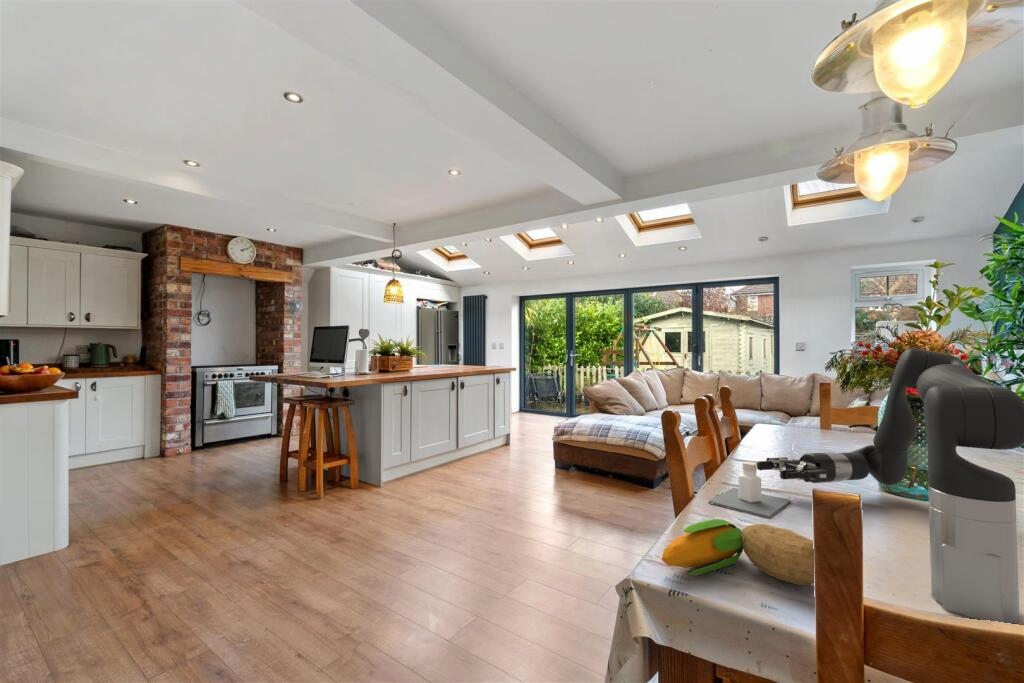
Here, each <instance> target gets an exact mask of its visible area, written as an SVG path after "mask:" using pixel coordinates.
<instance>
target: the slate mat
mask: <svg viewBox="0 0 1024 683" xmlns="http://www.w3.org/2000/svg"><path fill="white" fill-rule="evenodd" d="M761 496H762V499H761V501H759V502H753V503H750V502H747V501H745V500H742V499H740V498H739V487H738V488H737V487H732V488H730V489H728V490H727V491H725V492H723V493H721V494H719V495H717V496H715V497H713V498H711V499H709V500H708V504H709V503H713V504H717V505H722V506H725V507H729V508H732V509H731V510H733V509H735V510H734V511H737V510H739V511H738V512H741V511H743V512H742V513H745V512H746V514H748V515H749V514H751V515H753V516H758V517H762V518H766V519H770V518H773V516H774V515H776V514H777V513H778V512H780V511H781V510H782V509H785V507H787V506H788V505H789V504H791V502H792V500H791V499H788V498H784V497H779V496H774V495H769V494H765V493H761ZM713 504H712V505H713ZM787 504H788V505H787ZM717 505H716V506H717ZM725 507H724V508H725ZM729 508H728V509H729Z"/></svg>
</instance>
